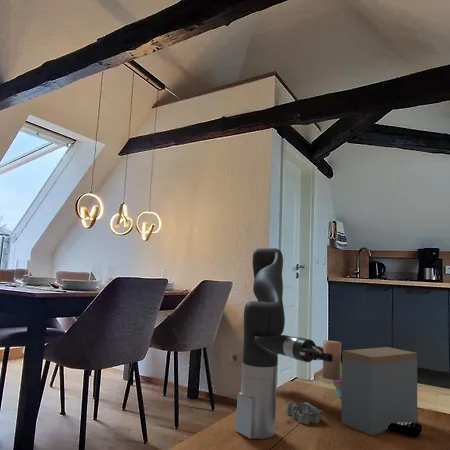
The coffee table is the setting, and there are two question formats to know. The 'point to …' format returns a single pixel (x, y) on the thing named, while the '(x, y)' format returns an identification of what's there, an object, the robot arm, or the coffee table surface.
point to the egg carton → (303, 412)
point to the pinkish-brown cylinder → (332, 368)
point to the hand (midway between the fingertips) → (338, 357)
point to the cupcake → (338, 385)
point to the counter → (378, 388)
